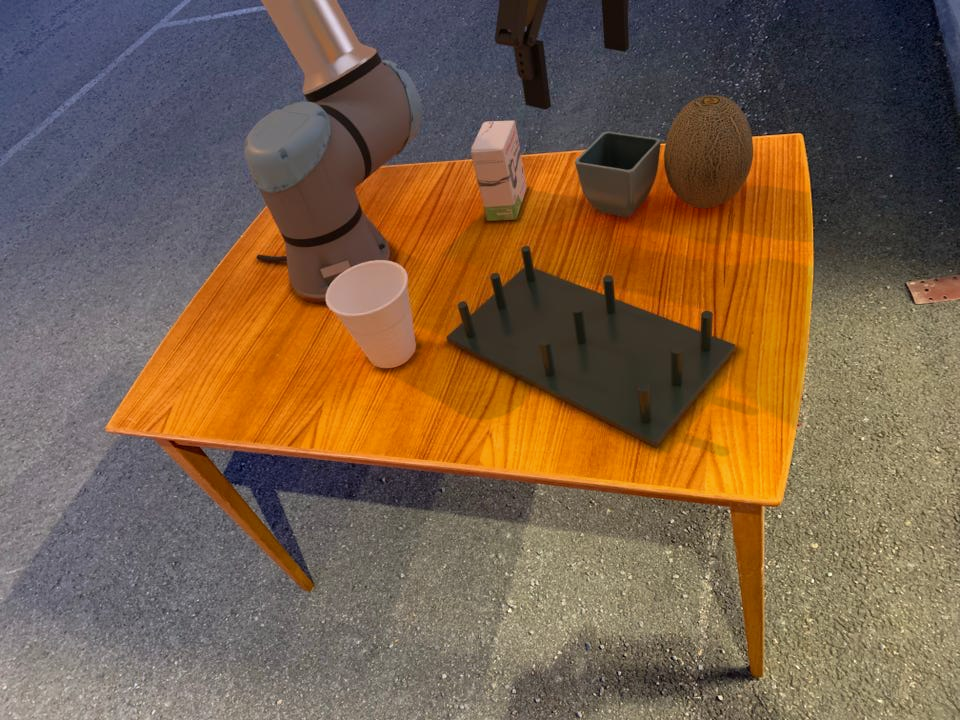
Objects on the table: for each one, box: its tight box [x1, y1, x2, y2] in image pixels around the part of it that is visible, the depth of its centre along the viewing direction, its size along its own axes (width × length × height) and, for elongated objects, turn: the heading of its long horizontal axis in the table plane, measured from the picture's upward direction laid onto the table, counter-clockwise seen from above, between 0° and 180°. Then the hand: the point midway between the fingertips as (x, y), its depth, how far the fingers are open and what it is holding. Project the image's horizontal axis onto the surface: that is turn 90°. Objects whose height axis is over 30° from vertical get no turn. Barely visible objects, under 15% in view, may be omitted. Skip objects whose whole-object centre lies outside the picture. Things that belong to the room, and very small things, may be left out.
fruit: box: [663, 94, 754, 209], centre depth 92 cm, size 11×11×15 cm
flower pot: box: [574, 131, 662, 218], centre depth 97 cm, size 9×9×9 cm
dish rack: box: [445, 245, 737, 449], centre depth 80 cm, size 30×16×6 cm, turn 48°
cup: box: [325, 260, 417, 369], centre depth 84 cm, size 10×10×11 cm
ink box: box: [470, 119, 528, 222], centre depth 102 cm, size 9×5×12 cm, turn 167°
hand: (579, 76), depth 73 cm, fingers open, 13 cm apart
